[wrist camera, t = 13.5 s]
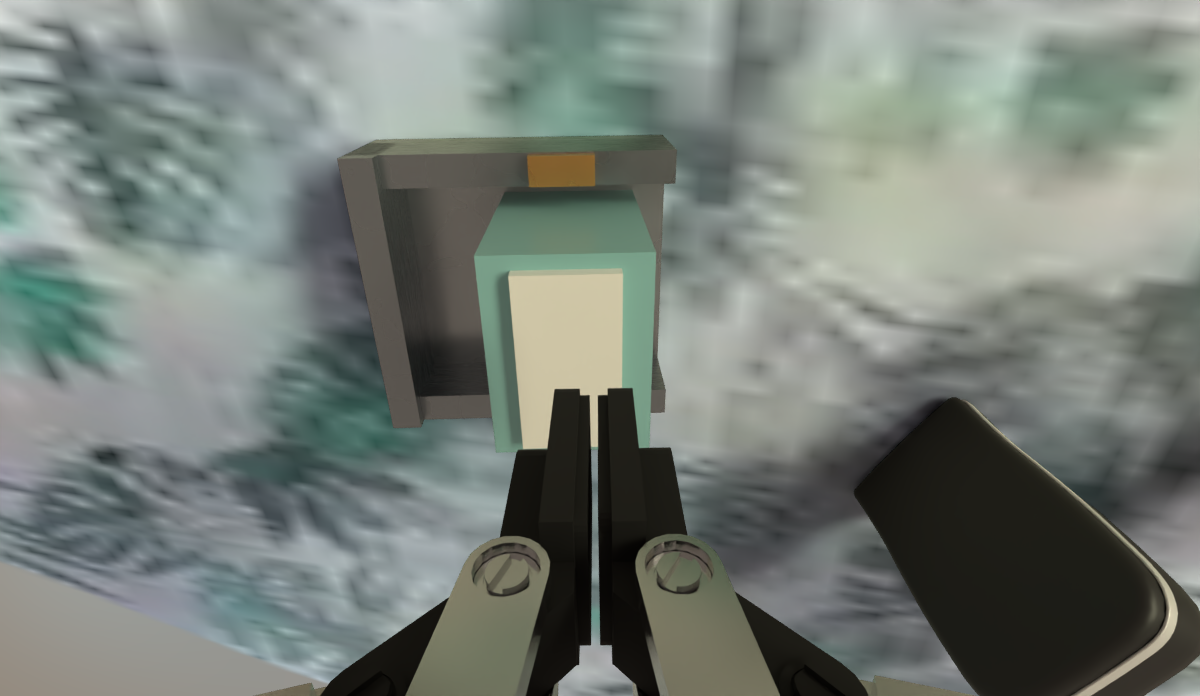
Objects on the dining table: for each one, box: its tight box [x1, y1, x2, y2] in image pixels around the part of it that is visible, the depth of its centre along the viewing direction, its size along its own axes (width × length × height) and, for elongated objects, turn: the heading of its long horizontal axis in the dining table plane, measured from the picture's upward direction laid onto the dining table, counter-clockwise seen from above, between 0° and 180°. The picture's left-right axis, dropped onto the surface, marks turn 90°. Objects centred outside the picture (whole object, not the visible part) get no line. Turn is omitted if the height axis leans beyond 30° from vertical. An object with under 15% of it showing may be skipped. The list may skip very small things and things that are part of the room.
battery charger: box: [854, 397, 1200, 696], centre depth 23 cm, size 7×4×11 cm, turn 148°
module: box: [474, 190, 656, 453], centre depth 19 cm, size 4×6×7 cm
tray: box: [337, 135, 677, 428], centre depth 21 cm, size 10×10×4 cm
